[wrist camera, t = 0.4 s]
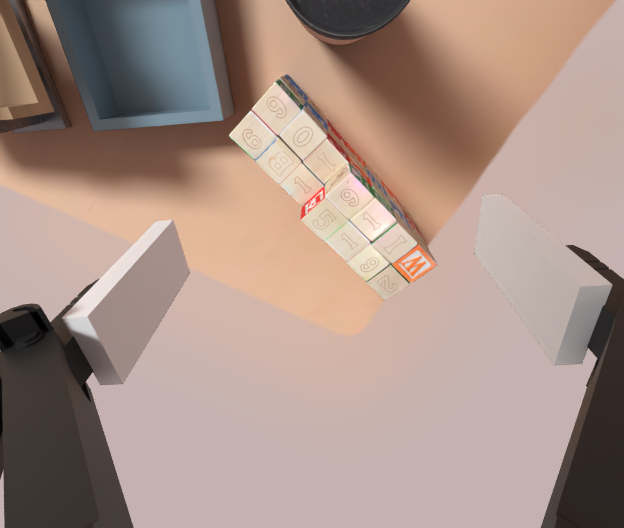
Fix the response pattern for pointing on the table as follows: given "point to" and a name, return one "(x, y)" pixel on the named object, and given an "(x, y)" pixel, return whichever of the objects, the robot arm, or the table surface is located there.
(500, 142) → the table surface
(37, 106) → the chute
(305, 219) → the stack of blocks
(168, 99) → the tub
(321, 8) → the travel mug
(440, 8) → the table surface
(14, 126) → the stand
